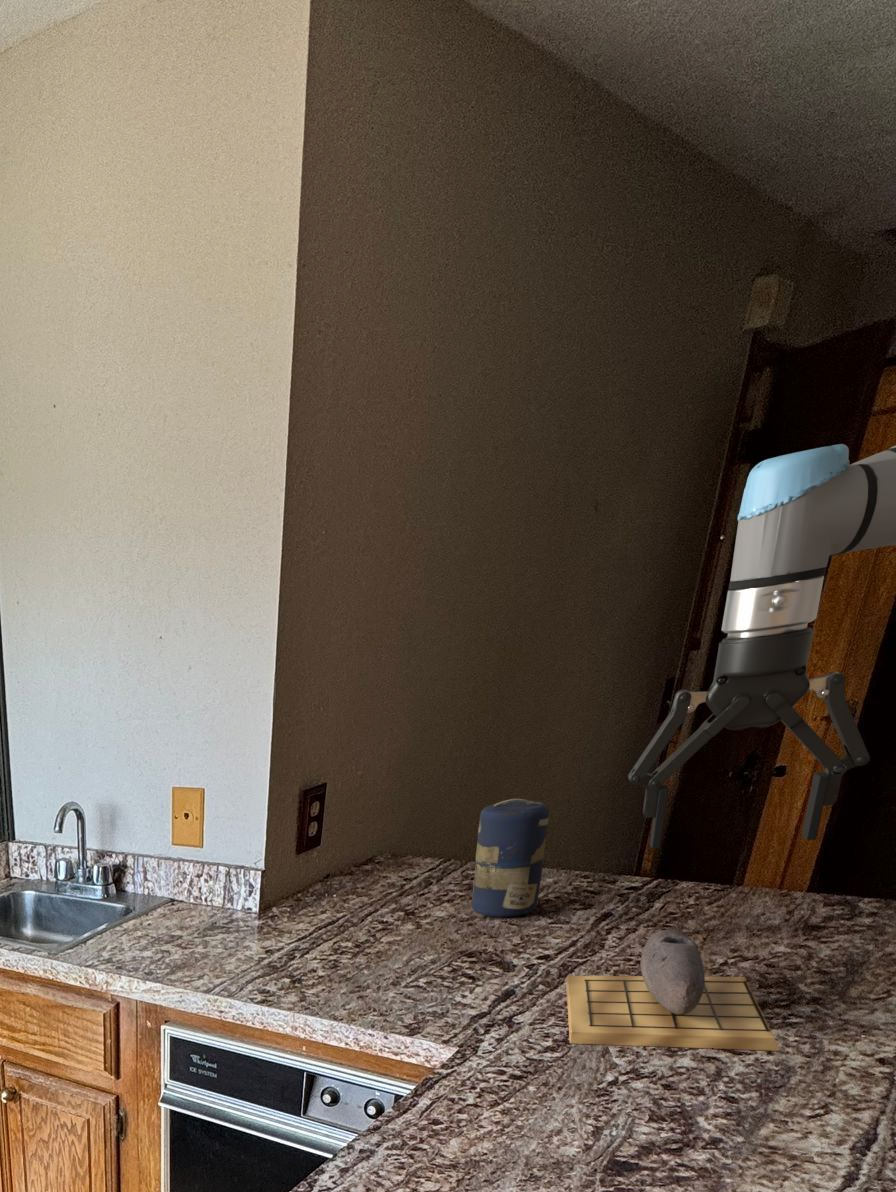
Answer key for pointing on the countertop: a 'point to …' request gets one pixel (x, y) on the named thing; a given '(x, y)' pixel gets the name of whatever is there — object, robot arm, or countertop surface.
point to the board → (665, 1015)
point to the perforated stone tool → (673, 971)
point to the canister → (509, 857)
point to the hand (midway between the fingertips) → (729, 842)
